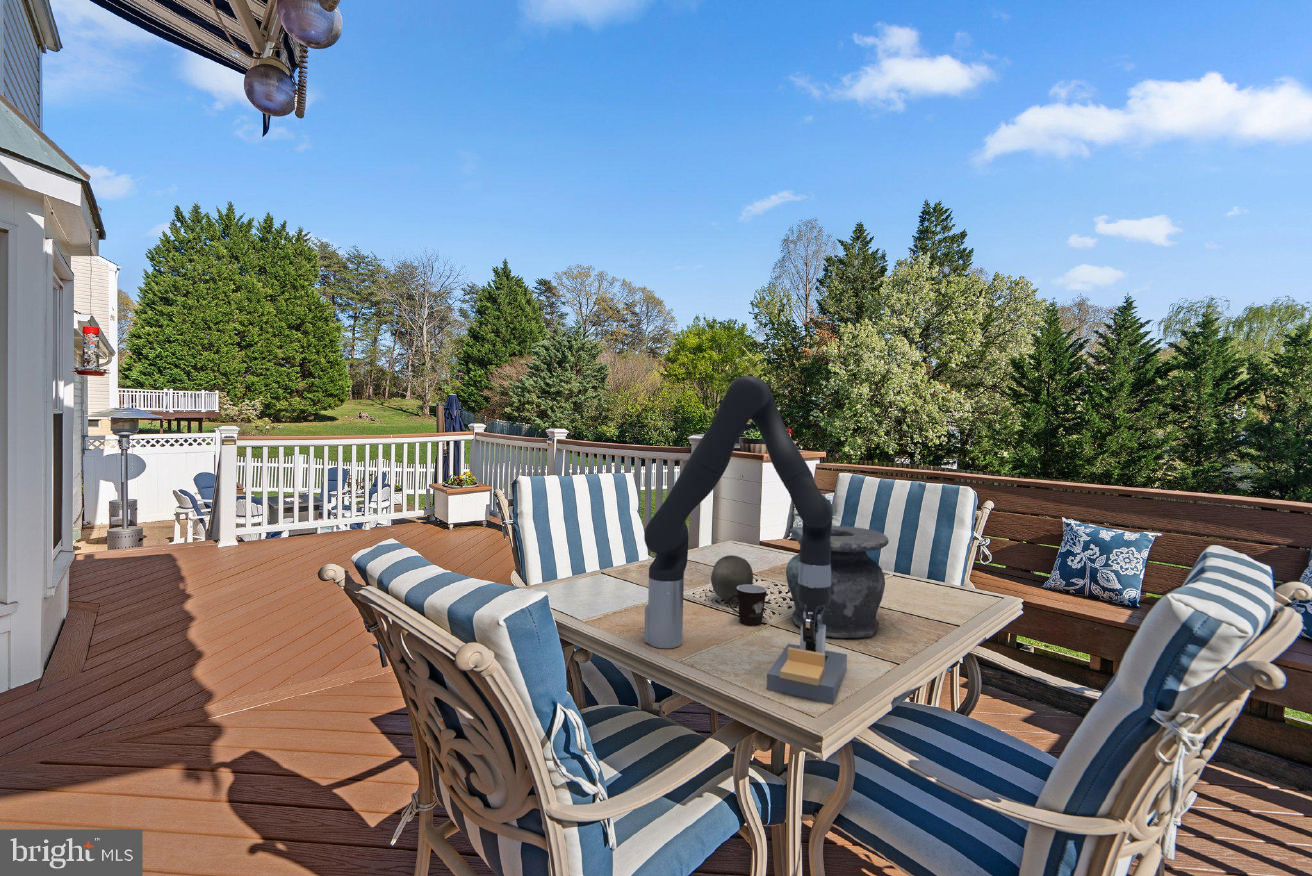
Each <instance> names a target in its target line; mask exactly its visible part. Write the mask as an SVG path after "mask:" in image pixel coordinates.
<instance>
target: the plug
mask: <svg viewBox="0 0 1312 876" xmlns="http://www.w3.org/2000/svg"><path fill="white" fill-rule="evenodd" d="M815 629H816V627H815ZM825 636H826V625H820V628H819V632H818V633H817V638H816V640H817V642H816V652H818V653H823V654H825V650H826V637H825ZM808 637H812V635H810V634H808ZM799 639H800V640H799V641H800V642H799V643H800V644H799V646H800V649H802V650H806V642H804V641H803V626H801V628H800V638H799Z"/></svg>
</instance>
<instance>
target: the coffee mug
mask: <svg viewBox="0 0 1312 876" xmlns="http://www.w3.org/2000/svg"><path fill="white" fill-rule="evenodd" d="M766 596H767V588H766V587H764V586H762V585H757V584H752V585H740V586H737V595H732V596H731V597H730V598H729V601H727V604H728V607H729V608H730V609H731V610H732V611H733V612H735V613H737V614H738V617H739V618H738V619H739V623H740V624H741V625H742V626H746V627H758V626H761V625H762V623H763V618H764V617H763V616H764V611H765V610H764V609H765V602H766ZM733 597H737V598H738V600H737V606H738V607H737V608H738V610H737V609H735V608H734V607H733V606H732V604H731V602H730V601H731V599H732V598H733Z"/></svg>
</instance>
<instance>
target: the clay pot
mask: <svg viewBox="0 0 1312 876" xmlns="http://www.w3.org/2000/svg"><path fill="white" fill-rule="evenodd" d="M789 532H790V533H791V534H792V536H793V537H794V538H795V539H796V542H797V543H798V544H799V545H800V543H801V539H802V534H803V526H793V528H790V530H789ZM830 542H831V602H830V604H828V605H826V606H824V610H823V613H824V614H823V625H826V636H825V638H826V637H827V638H833V639H858V638H859V639H860V638H870V637H873V636H874V635H876V633H877V632H878V627H879V625H880V623H879V621H878V620H877V613H878V611H879V608H880V605H881V602H882V600H883V596H884V592H885V587H886V579H885V574H884V571H883V569H882V567H881V566H880V564H878V563H877V562H876V561H875V560H874V559H872V558H871V557H870V556H868V554H867V551H868V552H869V551H870V552H871V551H876V550H881V549H883V548H884V547H887V545H888V544H889V543H890V542H889V537H887V536H886V534H883V532H880V531H878V530H874V529H868V528H864V527H863V528H861V527H856V526H846V525H845V526H843V525H841V526H840V525H832V528H831V537H830ZM799 562H800V552H798V553H797V554H796V555H793V557H792V558H790V560H789V561H788V563H787V565H786V570H785V575H786V582H787V586H788V590H789V592H790V596H791V597H792V601H793V603H794V604H793V605H794V607H795V609H794V611H792V614H791V619H792V621H793V623H794V625H795V626H797V627H799V628H800V629H801V626H802V620H803V618H804V617H803V612H804V610H806V605H805V604H804V603H801V602H799V601H798V599H797V594H798V569H799Z"/></svg>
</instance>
